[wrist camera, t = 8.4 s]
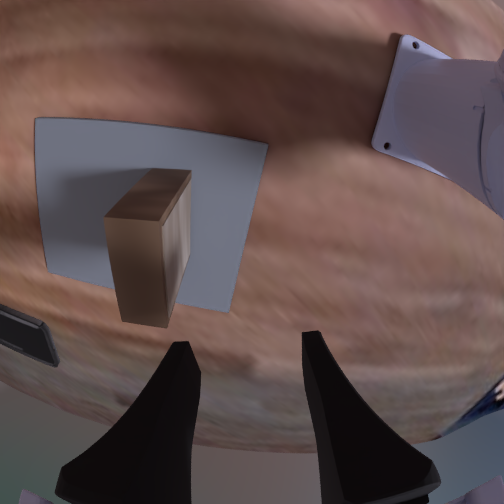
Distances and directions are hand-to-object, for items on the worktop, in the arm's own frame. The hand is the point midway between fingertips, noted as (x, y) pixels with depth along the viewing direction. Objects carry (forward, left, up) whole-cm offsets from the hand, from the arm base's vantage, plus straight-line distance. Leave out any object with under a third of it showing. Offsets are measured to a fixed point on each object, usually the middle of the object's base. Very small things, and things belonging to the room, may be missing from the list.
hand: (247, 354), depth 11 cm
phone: (+26, +19, -11) cm, 34 cm away
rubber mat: (+8, +1, -10) cm, 13 cm away
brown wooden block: (+5, 0, -10) cm, 11 cm away
